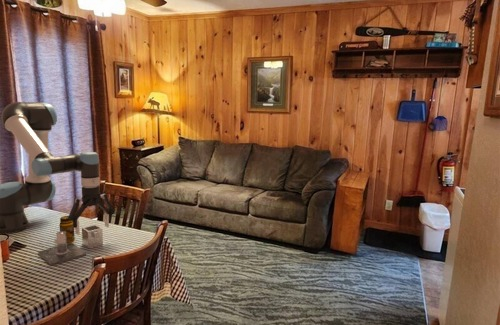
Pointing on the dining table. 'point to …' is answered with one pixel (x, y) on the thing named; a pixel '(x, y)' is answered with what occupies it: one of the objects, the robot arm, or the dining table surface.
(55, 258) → the plate
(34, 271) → the dining table surface
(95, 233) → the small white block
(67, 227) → the condiment
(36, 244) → the dining table surface
